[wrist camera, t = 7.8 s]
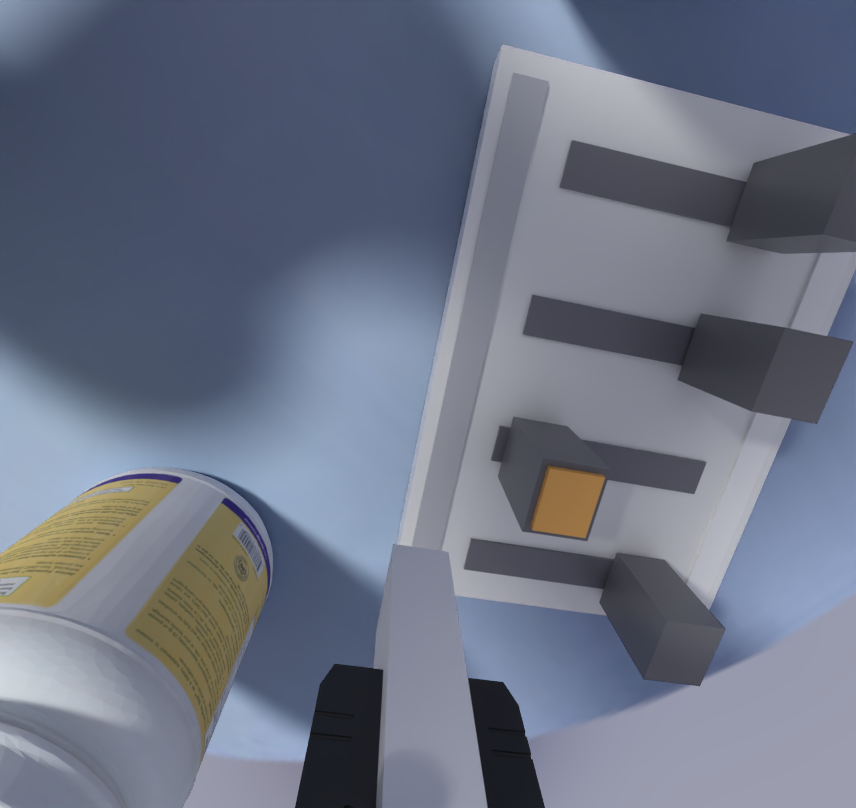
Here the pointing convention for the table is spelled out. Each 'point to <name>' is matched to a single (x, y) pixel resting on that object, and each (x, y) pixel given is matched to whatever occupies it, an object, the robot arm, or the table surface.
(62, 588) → the supplement tub
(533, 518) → the breaker
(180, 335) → the table surface
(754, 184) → the breaker
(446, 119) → the table surface
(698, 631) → the breaker
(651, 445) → the panel
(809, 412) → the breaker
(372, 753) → the robot arm
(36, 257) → the table surface
